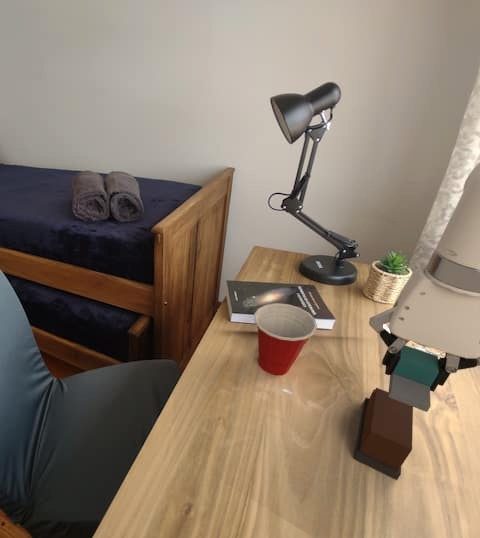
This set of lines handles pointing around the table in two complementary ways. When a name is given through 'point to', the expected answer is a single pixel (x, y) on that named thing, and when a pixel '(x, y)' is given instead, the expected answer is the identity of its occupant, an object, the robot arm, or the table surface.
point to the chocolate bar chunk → (384, 433)
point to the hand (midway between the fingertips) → (409, 375)
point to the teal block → (413, 378)
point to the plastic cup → (281, 335)
